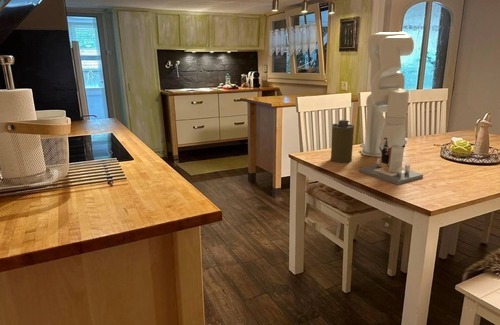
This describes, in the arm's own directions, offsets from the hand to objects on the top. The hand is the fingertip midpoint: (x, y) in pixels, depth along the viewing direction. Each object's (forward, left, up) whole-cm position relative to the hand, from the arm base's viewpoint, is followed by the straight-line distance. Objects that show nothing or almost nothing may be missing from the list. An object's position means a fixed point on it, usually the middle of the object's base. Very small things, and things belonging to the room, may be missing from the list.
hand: (391, 161), depth 145 cm
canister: (-28, -2, -6) cm, 29 cm away
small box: (0, 0, -4) cm, 4 cm away
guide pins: (0, 0, -4) cm, 4 cm away
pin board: (0, 0, -6) cm, 6 cm away
